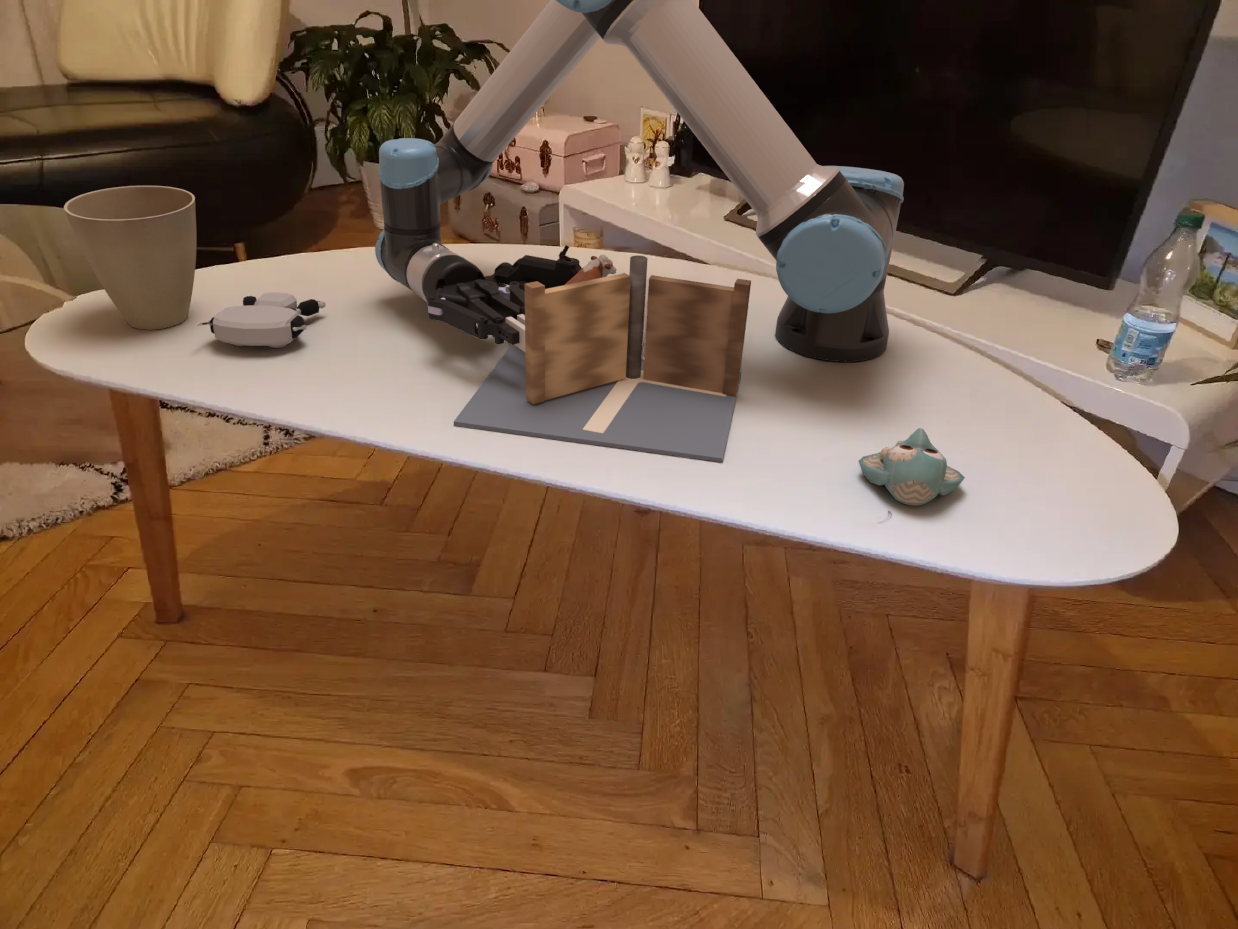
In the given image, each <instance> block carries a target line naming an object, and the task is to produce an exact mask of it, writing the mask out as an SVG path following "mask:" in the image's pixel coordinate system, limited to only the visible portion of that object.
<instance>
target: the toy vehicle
mask: <svg viewBox="0 0 1238 929" xmlns="http://www.w3.org/2000/svg"><path fill="white" fill-rule="evenodd" d="M569 249H570V246H569V245H567V244H565V246H564V248H562V250H561V251H560V252H559V254H558V258H557V259H550V258H545V257H544V258H543V257H539V256H534V255H528V254H525V255H524V256H523V257H521V258H518V259H517V260H516V261H515V262H514V263H513V264H511V263H510V262H501V263H500V264H498V265H497V266H496V267H495V269H494V270H493V271H494V272H493V274H491V275H484V277H485V278H486V280H487V281H491V282H495V283H496V284H497V285H498V286H499V284H501V285H505V286H506V285H510V282H513V281H515V282H519V288H520V289H521V290H522V291H523V292H524V293H525V284H526V283H531V282H536V281H538V282H539V283H541V284H543V285H544V286H545V289H548V288H553V287H558V286H563V285H565V284H566V283H567V282H568V281H569V280H571V279H572V278H573V277H574V276H575V275H576V274H577V273H578V272H579V271H580V270H581V269H582V268H583V267H582V266H581V265H580V260H579V259H578V258H575V257H570V256H568V255H566V254H567V252H568V250H569ZM499 287H500V286H499Z"/></svg>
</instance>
